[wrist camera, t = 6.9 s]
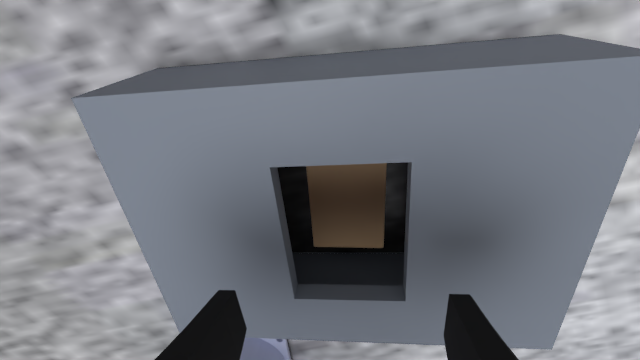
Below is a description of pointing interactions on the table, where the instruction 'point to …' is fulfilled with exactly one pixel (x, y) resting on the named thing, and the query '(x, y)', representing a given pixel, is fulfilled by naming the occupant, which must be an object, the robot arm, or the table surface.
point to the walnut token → (347, 205)
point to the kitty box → (371, 148)
